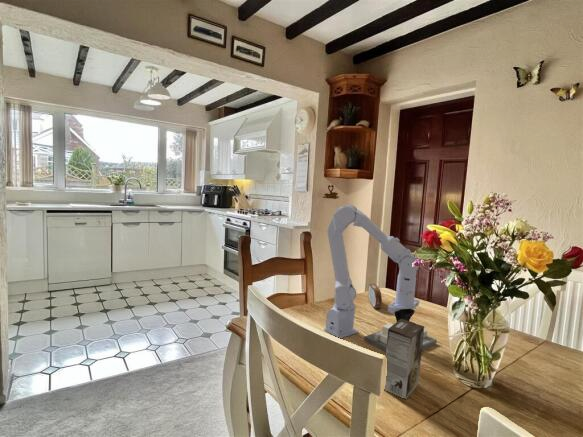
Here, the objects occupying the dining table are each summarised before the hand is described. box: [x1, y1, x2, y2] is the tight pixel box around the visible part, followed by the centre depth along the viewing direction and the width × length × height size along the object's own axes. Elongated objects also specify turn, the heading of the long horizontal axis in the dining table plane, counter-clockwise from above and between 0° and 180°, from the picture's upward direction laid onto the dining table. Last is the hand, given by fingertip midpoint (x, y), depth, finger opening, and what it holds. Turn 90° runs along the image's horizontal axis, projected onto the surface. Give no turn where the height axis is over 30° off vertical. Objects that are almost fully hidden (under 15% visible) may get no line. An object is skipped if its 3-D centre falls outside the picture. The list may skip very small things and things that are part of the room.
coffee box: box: [384, 319, 425, 400], centre depth 84 cm, size 9×6×16 cm
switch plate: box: [364, 329, 438, 353], centre depth 110 cm, size 20×14×4 cm
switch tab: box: [380, 323, 394, 344], centre depth 106 cm, size 5×5×5 cm
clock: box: [367, 283, 383, 309], centre depth 144 cm, size 15×3×8 cm, turn 179°
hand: (401, 329), depth 109 cm, fingers closed
